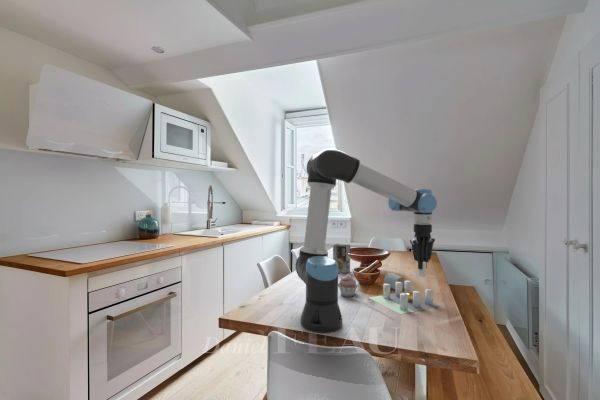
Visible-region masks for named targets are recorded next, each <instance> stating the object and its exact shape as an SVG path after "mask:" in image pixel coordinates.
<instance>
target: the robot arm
mask: <svg viewBox="0 0 600 400" xmlns="http://www.w3.org/2000/svg"><path fill="white" fill-rule="evenodd" d="M306 172H307V181H306V182H307V184H308V186H309V187H310V188H309V189H310V190H309V198H308V199H309V200H308V208H307V218H306V224H305V225H306V226H305V233H304V234H305V235H304V244H303V246H302V247H300V249H299V255H298V257H297V258H296V261H295V271H296V274H297V277H298V278H299V279H300V280H301V281H302V282H303V283H304V284H305V303H304V306H303V309H302V312H301V315H300V324H301V326H302V327H303V328H304V329H306V330H309V331H312V332H315V333H331V332H336V331H339V330H340V329H341V328H343V316H342V313H341V309H340V306H339V302H338V301H339V286H338V283H339V273H340V272H339V269H338V263H337V262H336V261H335V260H334V259H333V257H328V255H329V251H328V250H327V249H326V241H327V231H328V222H329V214H330V206H331V197H332V195H331V194H332V190H333V189H334V188H336V186H337V180H338V181H341V182H344V183H347V184H350V183H353V184H355V185H358V186H359V187H362V188H364V189H366V190H369V191H371V192H372V193H375V194H378V195H379V196H382V197H384V198H386V199H388V202H387V204H388V207H389V209H390V210H391V211H394V212H395V211H396V212H413V223H414V224H413V232H414V237H413V239H410V240H409V242H410V245H411V247H412V249H411V250H412V255H413V260H414V261H416V262H417V268H418V277H422V278H426V277H427V268H428V267H427V263H429V262H430V260H431V258H432V252H433V247H434V243H435V241H436V239H435V238H433V237H432V235H431V234H432V232H433V225H432V223H433V222H432V221H433V212H434V211H435V210H436V208H437V205H438V204H437V203H438V201H437V198H436V197H435V196H434V195H433V192H432V189H430V188H415V189H414V188H412V187H410V186H408V185H406V184H404V183H402V182H400V181H397V180H395V179H394V178H392V177H389V176H387V175H385V174H383V173H381V172H379V171H376V170H375V169H373V168H370V167H368V166H367V165H364V164H362V163H361V161H360V159H358V158H356V157H355V156H352V155H350V154H348V153H346V152H344V151H342V150H339V149H336V148H325V149H323V150H321V151H319V152H316V153H314V154H312V156H310V158H309V159H308V160H307V164H306Z"/></svg>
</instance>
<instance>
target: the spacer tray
mask: <svg viewBox="0 0 600 400" xmlns="http://www.w3.org/2000/svg"><path fill="white" fill-rule="evenodd" d="M382 289H383V291H382V292H383V293H382V295H376V296H370V297H368V299H370V300H372V301H374V302H376V303H377V304H379V305H381V306H383V307H385V308H387V309H389V310H391V311H392V312H395V313H397V314H399V315H404V314H408V313H409V314H411V313H413V312H419V311H423V310H427V309H433V308H438V307H441V305H440V304H437V303H435V302H434V300H433V299H434V290H433V289H430V288H425V290H424V294H425V296H424V298H423V297H422V293H421V291H418V290H413V291H412V280H405V288H404V289H403V290H402V282H396V284H395V292H394V293H391V288H390V284H384V283H383V287H382ZM405 292H413V302H408V294H406V293H405Z"/></svg>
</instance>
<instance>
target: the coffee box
mask: <svg viewBox="0 0 600 400" xmlns="http://www.w3.org/2000/svg"><path fill="white" fill-rule="evenodd" d="M348 253H350V254H351V245H350V244H344V243H343V244H342V243H336V244H334V245H332V259H334V260H335V261H336V262H337V263H338V269H339V273H343V274H348V273H350V272H351V257H350V258H349V257H348V256H347V254H348ZM349 271H350V272H349ZM347 272H348V273H347Z"/></svg>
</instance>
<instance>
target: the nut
mask: <svg viewBox="0 0 600 400" xmlns="http://www.w3.org/2000/svg"><path fill="white" fill-rule="evenodd" d="M405 293H406V294H408V302H413V291H411V292H405Z"/></svg>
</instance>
